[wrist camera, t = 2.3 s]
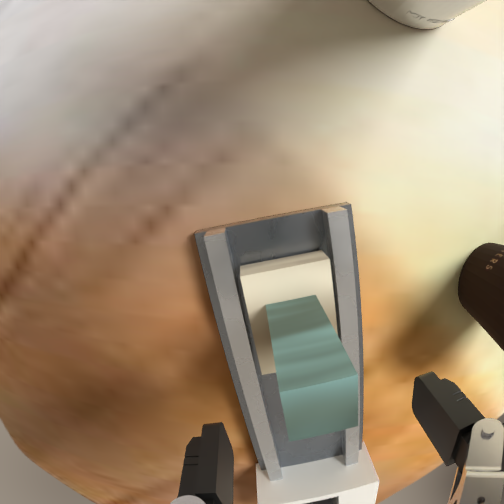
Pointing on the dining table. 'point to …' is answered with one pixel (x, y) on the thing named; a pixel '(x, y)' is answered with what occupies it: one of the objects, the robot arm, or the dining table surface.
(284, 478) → the end cabinet
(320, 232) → the rail bed
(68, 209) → the dining table surface
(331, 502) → the gauge plunger
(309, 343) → the carriage
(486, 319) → the coffee mug
